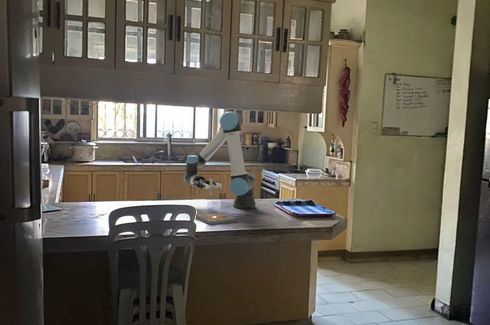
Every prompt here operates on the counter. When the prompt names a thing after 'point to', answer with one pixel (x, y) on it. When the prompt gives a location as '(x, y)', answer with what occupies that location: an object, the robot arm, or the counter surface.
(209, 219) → the plate
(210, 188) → the pipe connector
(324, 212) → the counter surface
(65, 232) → the counter surface
